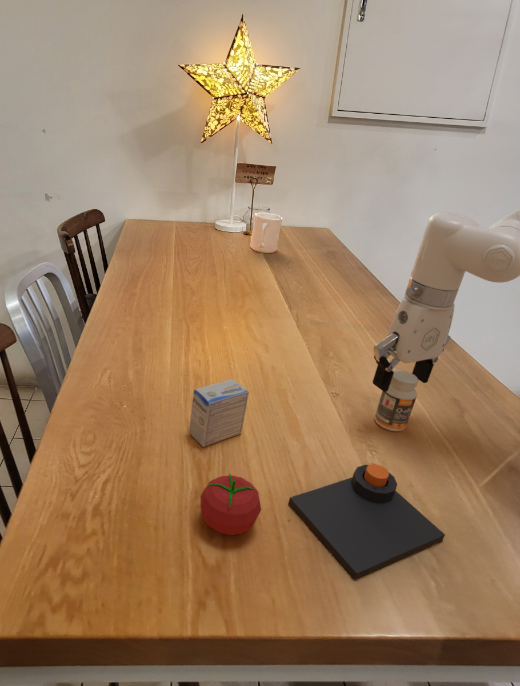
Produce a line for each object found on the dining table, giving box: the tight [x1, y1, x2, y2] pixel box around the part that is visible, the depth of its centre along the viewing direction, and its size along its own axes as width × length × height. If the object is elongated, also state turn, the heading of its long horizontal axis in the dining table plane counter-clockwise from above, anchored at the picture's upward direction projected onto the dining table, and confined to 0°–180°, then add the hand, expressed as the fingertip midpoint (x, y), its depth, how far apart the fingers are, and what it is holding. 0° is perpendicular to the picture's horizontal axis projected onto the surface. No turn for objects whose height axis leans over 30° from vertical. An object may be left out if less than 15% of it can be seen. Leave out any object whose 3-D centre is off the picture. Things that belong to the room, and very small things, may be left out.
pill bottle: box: [374, 369, 419, 432], centre depth 96 cm, size 6×6×10 cm
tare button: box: [364, 463, 390, 487], centre depth 78 cm, size 3×3×2 cm
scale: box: [288, 464, 446, 581], centre depth 74 cm, size 16×14×3 cm
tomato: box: [200, 473, 262, 536], centre depth 70 cm, size 8×8×8 cm
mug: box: [249, 211, 283, 254], centre depth 184 cm, size 10×12×12 cm
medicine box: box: [188, 378, 250, 448], centre depth 87 cm, size 8×4×9 cm, turn 126°
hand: (399, 383), depth 94 cm, fingers open, 9 cm apart
